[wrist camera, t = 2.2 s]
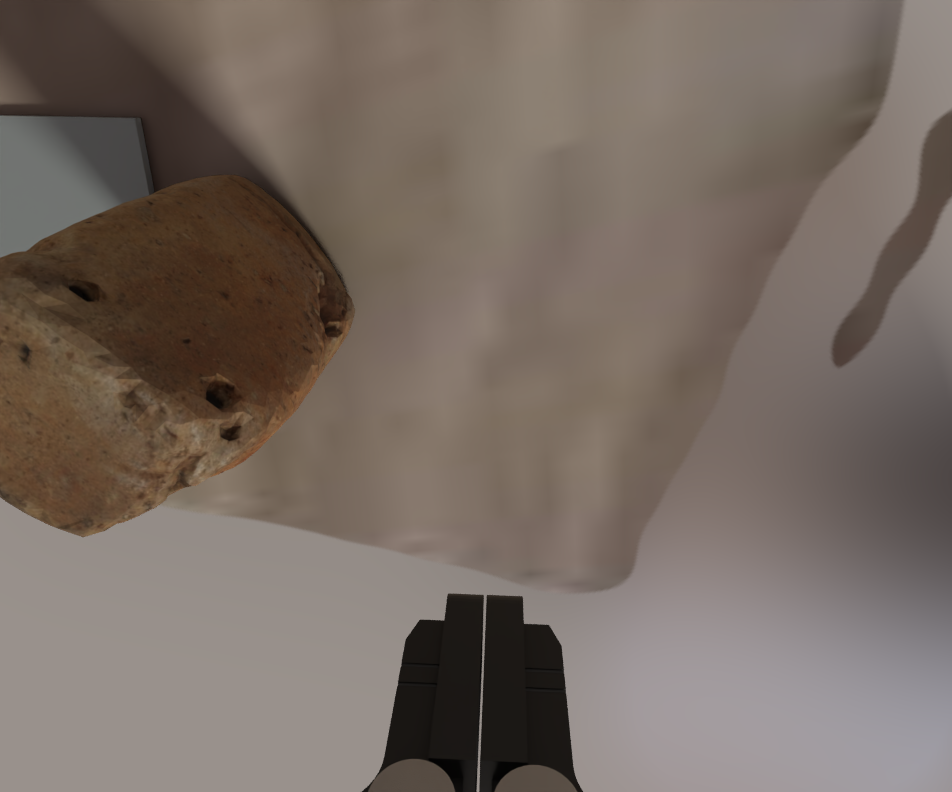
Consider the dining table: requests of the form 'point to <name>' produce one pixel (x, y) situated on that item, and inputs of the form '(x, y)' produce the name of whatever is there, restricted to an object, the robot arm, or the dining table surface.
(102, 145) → the mat
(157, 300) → the brown rounded piece
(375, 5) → the dining table surface
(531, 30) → the dining table surface
